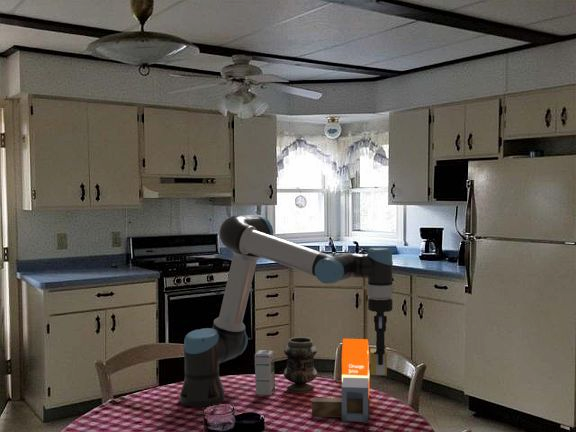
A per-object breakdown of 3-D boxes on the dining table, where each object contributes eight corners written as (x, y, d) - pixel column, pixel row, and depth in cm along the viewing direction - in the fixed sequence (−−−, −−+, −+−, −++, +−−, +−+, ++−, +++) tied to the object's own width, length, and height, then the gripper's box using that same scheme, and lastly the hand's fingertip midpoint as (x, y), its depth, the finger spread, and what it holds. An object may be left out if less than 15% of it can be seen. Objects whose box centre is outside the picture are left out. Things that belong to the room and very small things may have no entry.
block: (370, 374, 191) (370, 352, 190) (370, 370, 196) (370, 348, 195) (386, 375, 190) (386, 352, 190) (386, 370, 195) (386, 348, 195)
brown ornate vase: (318, 394, 215) (317, 343, 215) (283, 394, 216) (282, 343, 215) (316, 383, 227) (316, 335, 227) (284, 384, 228) (283, 335, 227)
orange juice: (344, 392, 217) (343, 336, 217) (369, 393, 216) (369, 336, 215) (341, 399, 210) (341, 341, 209) (368, 401, 208) (367, 342, 207)
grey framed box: (341, 420, 190) (341, 387, 190) (343, 409, 200) (343, 377, 199) (368, 421, 189) (367, 387, 188) (368, 410, 199) (368, 378, 198)
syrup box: (271, 395, 215) (270, 354, 214) (255, 394, 216) (254, 353, 216) (275, 390, 220) (274, 350, 220) (259, 389, 222) (258, 349, 221)
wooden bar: (311, 417, 194) (311, 401, 194) (312, 413, 198) (312, 397, 198) (369, 418, 192) (369, 402, 192) (369, 414, 196) (369, 399, 196)
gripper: (393, 303, 182) (393, 381, 183) (391, 293, 200) (391, 364, 201) (367, 302, 184) (367, 380, 184) (368, 292, 201) (368, 363, 202)
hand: (380, 371), depth 193 cm, fingers closed on block, 5 cm apart
